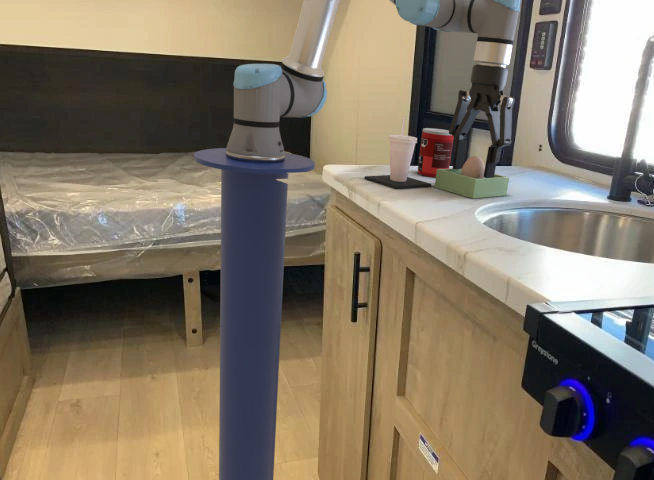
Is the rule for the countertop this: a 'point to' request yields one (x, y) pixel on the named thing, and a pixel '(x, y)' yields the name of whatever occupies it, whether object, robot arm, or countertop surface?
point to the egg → (473, 168)
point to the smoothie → (401, 155)
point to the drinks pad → (396, 184)
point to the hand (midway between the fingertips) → (472, 172)
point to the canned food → (434, 151)
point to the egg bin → (471, 184)
